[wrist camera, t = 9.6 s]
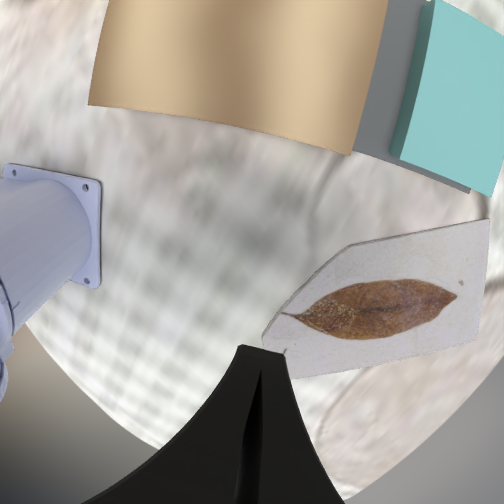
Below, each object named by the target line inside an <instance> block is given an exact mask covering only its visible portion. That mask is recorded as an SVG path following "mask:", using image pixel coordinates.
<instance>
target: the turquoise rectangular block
mask: <svg viewBox="0 0 504 504" xmlns="http://www.w3.org/2000/svg"><path fill="white" fill-rule="evenodd" d="M388 153H389V154H391V155H393V156H395V157H396V158H398V159H400V160H403V161H406V162H408V163H411V164H414V165H416V166H419V167H421V168H424V169H427V170H429V171H432V172H434V173H437V174H439V175H441V176H444V177H446V178H449V179H451V180H453V181H456V182H458V183H460V184H462V185H465V186H467V187H469V188H471V189H474V190H476V191H478V192H480V193H482V194H484V195H486V196H489V197H491V196H492V193H493V190H494V187H495V185H496V182H497V178H498V175H499V172H500V169H501V166H502V162H503V159H504V36H502V35H501V34H499V33H498V32H496V31H495V30H493V29H492V28H490V27H489V26H487V25H485V24H484V23H482V22H481V21H479V20H477V19H476V18H474V17H472V16H470V15H469V14H467V13H465V12H463V11H461V10H460V9H458V8H456V7H454V6H452V5H450V4H448V3H446V2H444V1H442V0H431V1H430V2H428V3H427V4H425V5H424V6H422V10H421V16H420V22H419V28H418V33H417V38H416V43H415V48H414V53H413V58H412V63H411V67H410V72H409V76H408V80H407V85H406V89H405V93H404V97H403V101H402V105H401V109H400V113H399V117H398V120H397V124H396V128H395V131H394V135H393V138H392V142H391V145H390V149H389V152H388Z"/></svg>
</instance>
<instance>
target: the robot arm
mask: <svg viewBox="0 0 504 504" xmlns="http://www.w3.org/2000/svg"><path fill="white" fill-rule="evenodd" d="M16 172H17V174H16ZM86 184H87V185H88V186H89V190H88V189H87V188H86ZM100 200H101V186H100V183H99V182H98V181H96V180H92V179H87V178H82V177H77V176H72V175H67V174H62V173H57V172H52V171H47V170H42V169H36V168H31V167H25V166H20V165H14V164H6V165H5V166H4V168H3V178H2V179H0V402H1V400H2V398H3V396H4V394H5V391H6V388H7V384H8V372H7V368H6V365H5V360H6V359H7V358H8V357H9V356H10V355H11V353H12V352H13V351H14V347H13V345H12V341H11V337H12V336H13V335H14V334H15V333H16V332H17V331H18V330H19V328H20V327H21V326H22V325H23V324H24V323H25V322H26V321H27V320H28V319H29V318H30V317H31V316H32V315H33V314H34V313H35V312H36V311H37V310H38V309H39V308H40V307H41V306H42V305H43V304H44V303H45V302H46V301H47V300H48V299H49V298H50V297H51V296H52V295H53V294H54V293H55V292H56V291H57V290H58V289H59V288H61V287H62V286H63V285H64V284H65V283H66V282H67V281H68V280H71V281H74V282H76V283H79V284H82V285H85V286H88V287H90V288H94V289H96V288H98V286H99V285H100ZM87 279H89V281H88V280H87ZM82 504H345V503H344V501H343V500H342V498H341V497H340V495H339V494H338V492H337V491H336V489H335V487H334V486H333V484H332V482H331V480H330V479H329V477H328V475H327V473H326V471H325V469H324V468H323V466H322V464H321V462H320V460H319V458H318V456H317V453H316V451H315V449H314V447H313V445H312V442H311V440H310V437H309V435H308V433H307V430H306V427H305V425H304V422H303V420H302V417H301V414H300V411H299V408H298V405H297V402H296V399H295V395H294V392H293V388H292V385H291V381H290V377H289V372H288V368H287V363H286V357H285V356H284V354H282V353H277V352H273V351H269V350H264V349H260V348H256V347H252V346H248V345H244V344H242V345H239V346H238V348H237V351H236V354H235V356H234V358H233V360H232V362H231V364H230V366H229V368H228V369H227V371H226V373H225V374H224V376H223V378H222V379H221V381H220V382H219V383H218V385H217V386H216V388H215V389H214V391H213V392H212V394H211V395H210V396H209V398H208V399H207V400H206V401H205V402H204V404H203V405H202V406H201V407H200V409H199V410H198V411H197V412H196V413H195V415H194V416H193V417H192V418H191V419H190V420H189V421H188V422H187V424H186V425H185V426H184V427H183V428H182V429H181V430H180V431H179V432H178V433H177V434H176V435H175V436H174V437H173V438H172V439H171V440H170V441H169V442H168V443H167V444H165V445H164V446H163V447H162V448H161V449H160V450H159V451H158V452H157V453H155V454H154V455H153V456H152V457H151V458H149V459H148V460H147V461H146V462H145V463H143V464H142V465H141V466H139V467H138V468H137V469H136V470H134V471H133V472H131V473H130V474H128V475H127V476H126V477H124V478H123V479H121V480H120V481H118V482H117V483H116V484H114V485H113V486H111V487H109V488H108V489H106V490H105V491H103V492H101V493H99V494H98V495H96V496H94V497H92V498H91V499H89V500H87V501H85V502H83V503H82Z"/></svg>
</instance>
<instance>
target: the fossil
mask: <svg viewBox="0 0 504 504" xmlns="http://www.w3.org/2000/svg"><path fill="white" fill-rule="evenodd" d="M489 231H490V219H489V218H485V219H480V220H475V221H470V222H465V223H460V224H455V225H450V226H445V227H439V228H434V229H429V230H424V231H419V232H414V233H409V234H404V235H399V236H393V237H388V238H383V239H378V240H373V241H368V242H363V243H359V244H354V245H349V246H347V247H345V248H344V249H342V250H341V251H339V252H338V253H337V254H336V255H335V256H334V257H333V258H331V259H330V260H329V261H328V262H326V263H325V264H324V265H323V266H322V267H321V268H320V269H319V270H318V271H316V272H315V273H314V274H313V276H312V277H311V278H310V279H309V280H308V281H307V282H306V283H305V284H304V285H303V286H302V287H301V288H299V289H298V290H297V291H295V293H294V294H293V295H292V296H291V297H290V299H289V300H287V301H286V302H285V303H284V304H283V306H282V307H281V309H280V310H279V311H278V312H277V314H276V315H275V316H274V318H273V319H272V320H271V321H270V323H269V324H268V326H267V328H266V329H265V331H264V332H263V334H262V342H263V345H264V349H265V350H269V351H273V352H277V353H282V354H284V356H285V357H286V363H287V368H288V372H289V377H290V379H297V378H304V377H310V376H318V375H324V374H331V373H337V372H344V371H348V370H353V369H359V368H364V367H370V366H376V365H380V364H384V363H388V362H393V361H398V360H403V359H406V358H410V357H415V356H420V355H425V354H428V353H432V352H436V351H440V350H444V349H447V348H450V347H454V346H458V345H461V344H464V343H467V342H471V341H474V340H476V338H477V333H478V328H479V322H480V315H481V309H482V302H483V295H484V288H485V280H486V270H487V261H488V248H489Z"/></svg>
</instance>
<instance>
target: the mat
mask: <svg viewBox="0 0 504 504" xmlns="http://www.w3.org/2000/svg"><path fill="white" fill-rule="evenodd" d="M427 3H428V1H426V0H389V1H388V6H387V11H386V16H385V20H384V25H383V30H382V34H381V39H380V43H379V48H378V52H377V57H376V61H375V65H374V69H373V73H372V77H371V81H370V85H369V89H368V93H367V97H366V101H365V105H364V109H363V112H362V116H361V120H360V123H359V127H358V131H357V134H356V138H355V141H354V145H353V148H352V150H354V151H357V152H361V153H364V154H367V155H370V156H373V157H376V158H379V159H381V160H384V161H387V162H390V163H393V164H396V165H398V166H401V167H404V168H407V169H409V170H412V171H414V172H417V173H420V174H422V175H425V176H427V177H430V178H432V179H435V180H437V181H440V182H442V183H444V184H447V185H449V186H452V187H454V188H456V189H459V190H461V191H463V192H465V193H468V194H469V193H470V190H471V188H469V187H467V186H465V185H462V184H460V183H458V182H456V181H453V180H451V179H449V178H446V177H444V176H441V175H439V174H437V173H434V172H432V171H429V170H427V169H424V168H421V167H419V166H416V165H414V164H411V163H408V162H406V161H403V160H400V159H398V158H396V157H395V156H393V155H391V154H389V153H388V152H389V149H390V145H391V142H392V138H393V135H394V131H395V128H396V124H397V120H398V117H399V113H400V109H401V105H402V101H403V97H404V93H405V89H406V85H407V80H408V76H409V72H410V67H411V63H412V58H413V53H414V48H415V43H416V38H417V33H418V28H419V22H420V16H421V10H422V6H424V5H425V4H427Z"/></svg>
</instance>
